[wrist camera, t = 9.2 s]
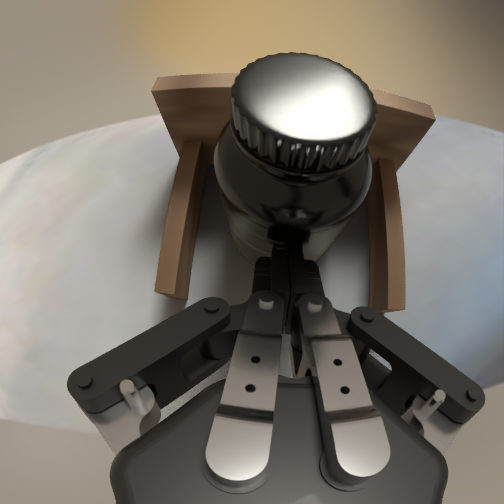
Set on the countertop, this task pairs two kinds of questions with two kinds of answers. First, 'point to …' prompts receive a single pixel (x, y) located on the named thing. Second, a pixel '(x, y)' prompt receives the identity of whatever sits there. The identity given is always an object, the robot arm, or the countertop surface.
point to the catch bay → (202, 154)
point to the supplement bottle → (294, 154)
